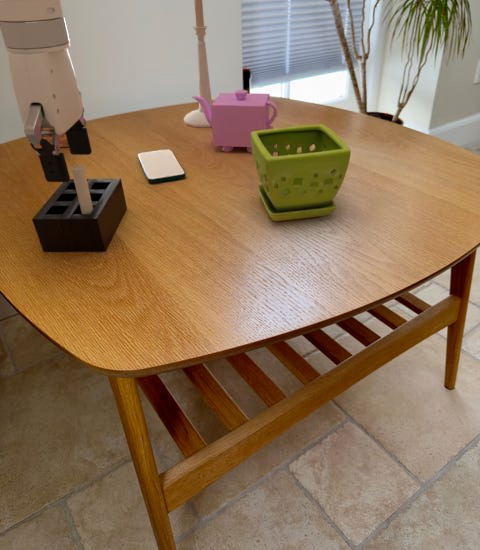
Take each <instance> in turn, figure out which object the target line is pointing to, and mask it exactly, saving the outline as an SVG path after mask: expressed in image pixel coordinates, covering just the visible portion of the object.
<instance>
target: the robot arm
mask: <svg viewBox="0 0 480 550" xmlns="http://www.w3.org/2000/svg"><path fill="white" fill-rule="evenodd" d="M0 33H1V36H2V39H3V42H4V43H3V44H4V46H5V48H6V52H7V53H8V54H7V56H8V57H7V58H8V64H9V71H10V77H11V80H12V81H11V83H12V86H13V91H14V95H15V99H16V102H17V108H18V111H19V115H20V118H21V122H22V125H23V128H24V129H23V133H24V135H25V136H26V138H27V139H28V141H29V142H30V146H31V148H32V149H33V150H34V153H35V155H36V156H38V159H39V162H40V165H41V168H42V172H43V174H44V175H43V176H44V178H45V181H46V182H48V183H63V182H68V181H69V180H70V179H71V175H70V171H69V169H68V165H67V162H66V158H65V153H64V152H61V147H60V135H63V134H64V133H66V137H67V141H68V145H69V147H68V148H69V152H70V154H71V155H73V156H89V155H91V154H92V152H93V150H92V147H91V142H90V137H89V133H88V129H87V121H86V119H85V117H84V113H85V108H84V106H83V101H82V92H81V91H80V88H79V83H78V79H77V75H76V72H75V68H74V66H73V61H72V58H71V55H70V53H69V48H71V46H72V45H71V41H70V37H69V32H68V27H67V24H66V19H65V15H64V11H63V6H62V2H61V0H0ZM43 128H54V130H43ZM44 137H52V144H51V143H50V142H49V141H48V140H46V139H44Z"/></svg>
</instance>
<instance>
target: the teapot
mask: <svg viewBox="0 0 480 550" xmlns="http://www.w3.org/2000/svg"><path fill="white" fill-rule="evenodd" d="M191 98H192V99H194V100H196V101H197V102H198V104H199V103H200V104H201V106H202V108H203V111H204V114H205V117H206V119H207V121H208V123H209V124H210V125H211V126H212V127H211V131H212V132H211V133H212V145H213V147H222V149H221V151H223V152H225V153H226V152H227V153H228V152H232V151H233V149H234V147H237V148H238V147H239V148H246V150H247V152H248V153H250V154H251V153H252V146H251V132H254V131H260V130H268V129H275V128H274V126H272V124H273V122H274V121H275V119H276V118H277V117H278V115H279V108H278V105H277V104H276V103H275V102H273V101H272V100H271V99H270V98H271V95H270V93H248V90H246V89H237V90H235V91H234V92H220V93H219V94H218V96H217V97H216V98H215V99H214V100H213V101H212V105H211V109H210V107H209V105H208V103H207V101H206V100H205V99H204V98H203V97H199V96H198V95H197V96H195V95H194V96H191ZM270 107H271V108H272V109H273V113H272V116H271V117H270ZM252 154H253V153H252Z"/></svg>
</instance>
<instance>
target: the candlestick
mask: <svg viewBox="0 0 480 550" xmlns="http://www.w3.org/2000/svg"><path fill="white" fill-rule="evenodd" d="M193 5H194V16H195V17H194V19H195V25H194V26H193V27H192V28H193V29H194V31H195V33H194V34H195V36H196V38H197V44H196V45H197V70H198V72H197V73H198V97H203V98H204V99H205V100H206V101H207V103H208V105H209V107H210V109H211V105H212V103H213V99H212V92H211V83H210V74H209V65H208V57H207V47H206V44H207V43H206V41H205V36H206V34H207V33H206V29H207V28H208V26H207V25H205V20H204V19H205V18H204V4H203V0H193ZM198 104H199V106H198V108H197V109H194V110H192V111H190V112H188V113H186V114H185V116H184V117H183V123H184V124H185V125H187V126H189V127H194V128H212V126H211V125H210V124H209V123H208V121H207V119H206V117H205V114H204V111H203V108H202V106H201V104H200V103H199V102H198Z"/></svg>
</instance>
